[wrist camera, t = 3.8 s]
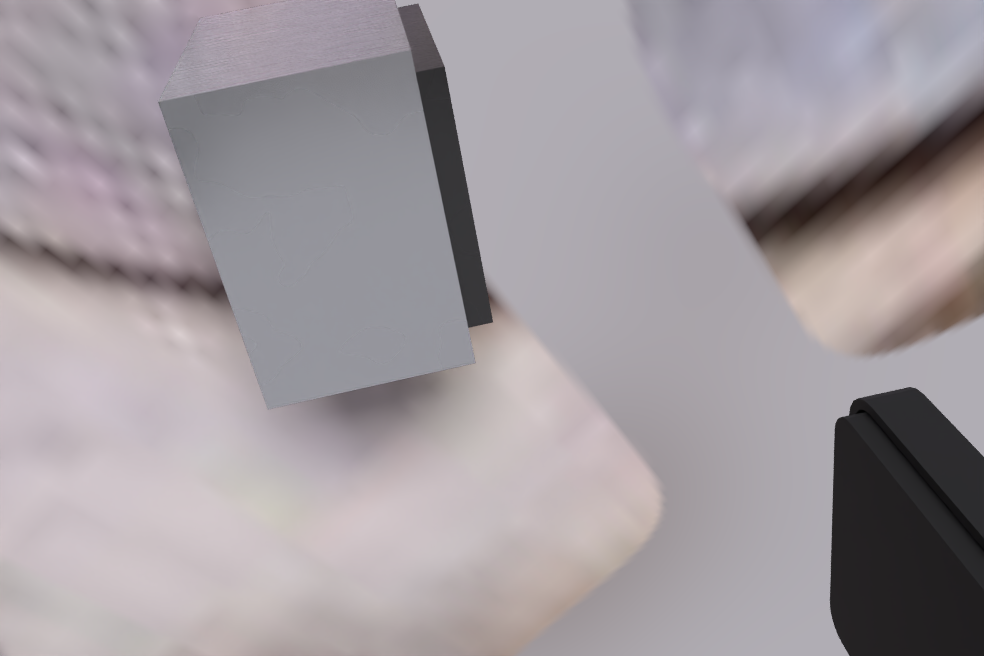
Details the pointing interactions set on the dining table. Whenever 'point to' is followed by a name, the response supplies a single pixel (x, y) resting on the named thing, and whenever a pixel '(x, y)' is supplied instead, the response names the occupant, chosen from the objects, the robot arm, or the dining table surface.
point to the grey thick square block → (330, 192)
